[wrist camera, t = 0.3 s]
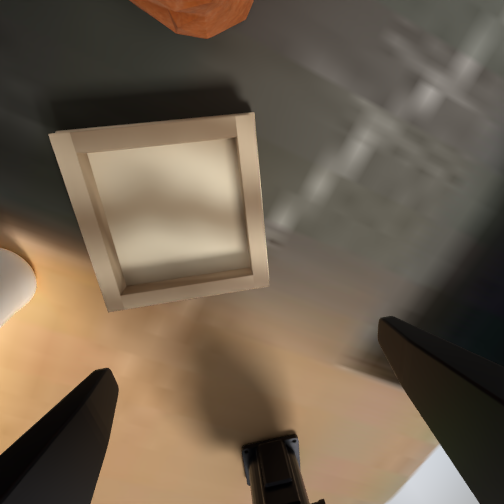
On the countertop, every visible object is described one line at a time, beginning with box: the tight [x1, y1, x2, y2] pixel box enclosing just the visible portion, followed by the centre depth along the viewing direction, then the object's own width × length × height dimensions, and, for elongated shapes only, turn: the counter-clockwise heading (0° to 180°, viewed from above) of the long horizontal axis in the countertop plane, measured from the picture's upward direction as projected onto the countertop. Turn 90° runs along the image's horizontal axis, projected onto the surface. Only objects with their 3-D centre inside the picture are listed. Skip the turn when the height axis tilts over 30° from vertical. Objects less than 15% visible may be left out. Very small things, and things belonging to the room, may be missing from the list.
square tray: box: [48, 112, 269, 312], centre depth 20 cm, size 13×13×2 cm
